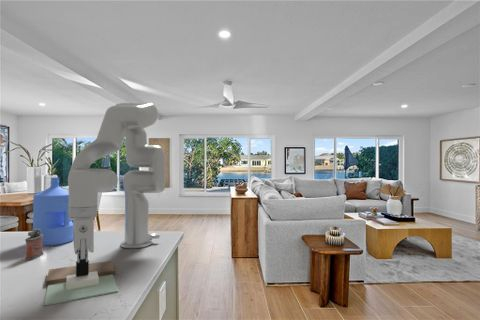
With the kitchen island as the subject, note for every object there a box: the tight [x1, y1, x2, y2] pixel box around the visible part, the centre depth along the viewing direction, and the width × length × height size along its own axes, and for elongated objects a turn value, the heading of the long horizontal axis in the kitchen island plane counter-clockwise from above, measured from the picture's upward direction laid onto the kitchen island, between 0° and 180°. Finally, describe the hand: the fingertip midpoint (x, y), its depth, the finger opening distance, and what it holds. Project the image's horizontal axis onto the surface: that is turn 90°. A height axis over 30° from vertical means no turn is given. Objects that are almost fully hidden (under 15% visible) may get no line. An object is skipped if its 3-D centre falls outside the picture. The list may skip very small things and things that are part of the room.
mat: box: [43, 274, 119, 307], centre depth 82 cm, size 17×13×1 cm
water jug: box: [32, 177, 73, 247], centre depth 130 cm, size 16×16×28 cm
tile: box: [66, 271, 99, 290], centre depth 85 cm, size 8×6×2 cm
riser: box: [45, 260, 116, 287], centre depth 92 cm, size 18×10×2 cm, turn 119°
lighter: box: [25, 229, 44, 262], centre depth 109 cm, size 8×3×10 cm, turn 5°
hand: (82, 274), depth 86 cm, fingers closed
